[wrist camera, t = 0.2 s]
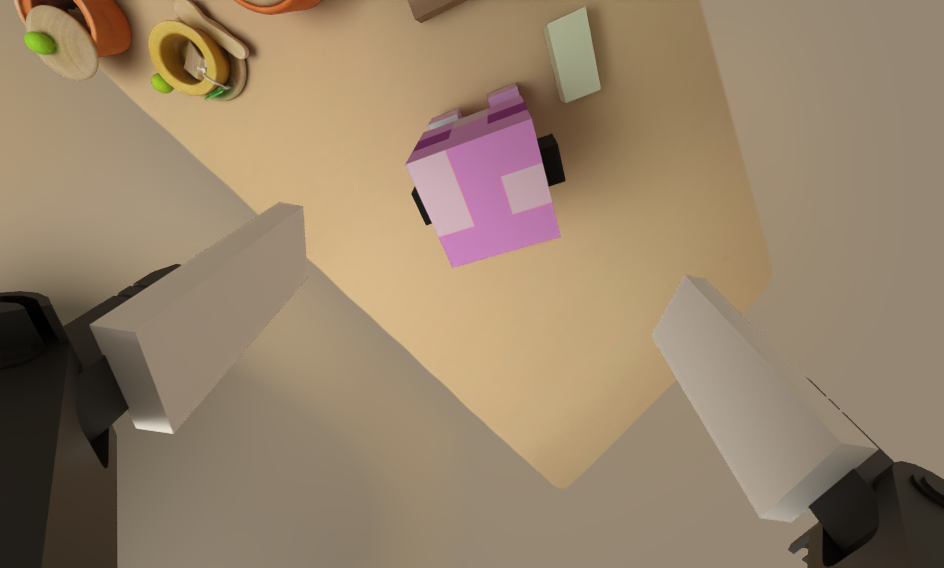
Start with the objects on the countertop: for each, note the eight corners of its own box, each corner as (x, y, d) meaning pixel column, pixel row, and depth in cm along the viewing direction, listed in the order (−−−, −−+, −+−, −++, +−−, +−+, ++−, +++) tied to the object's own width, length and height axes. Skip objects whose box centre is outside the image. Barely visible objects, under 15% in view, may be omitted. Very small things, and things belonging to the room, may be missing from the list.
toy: (529, 77, 33) (554, 109, 21) (549, 162, 37) (580, 231, 25) (421, 119, 35) (385, 171, 23) (451, 194, 39) (435, 272, 27)
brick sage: (542, 27, 31) (547, 24, 29) (577, 11, 31) (585, 6, 28) (559, 100, 34) (565, 103, 32) (592, 87, 33) (600, 89, 31)
